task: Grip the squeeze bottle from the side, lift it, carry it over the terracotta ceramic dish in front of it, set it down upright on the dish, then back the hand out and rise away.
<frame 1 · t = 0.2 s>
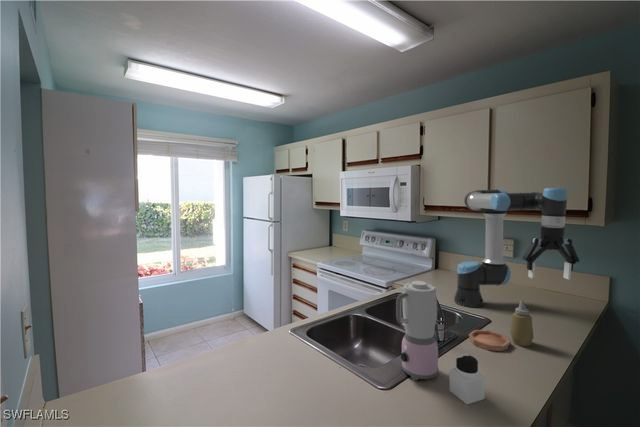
hand: (548, 278, 122), 28 cm above the counter, tool pointing down, fingers open, 13 cm apart
blender: (416, 373, 105), on the counter
medicine bottle: (466, 395, 93), on the counter
dish: (488, 342, 126), on the counter
squeeze bottle: (521, 343, 124), on the counter
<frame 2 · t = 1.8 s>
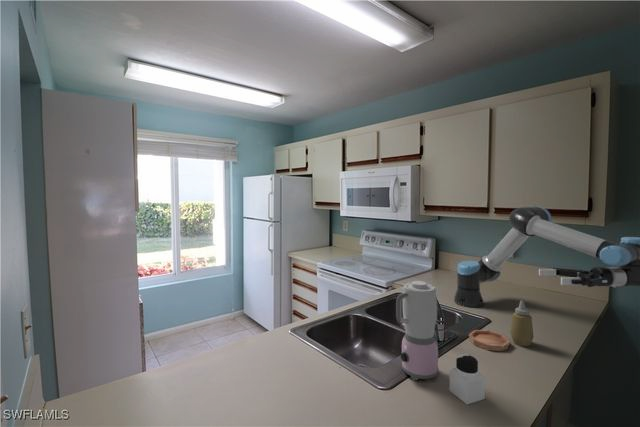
hand: (549, 276, 122), 28 cm above the counter, tool horizontal, fingers open, 13 cm apart
nothing on the counter moved.
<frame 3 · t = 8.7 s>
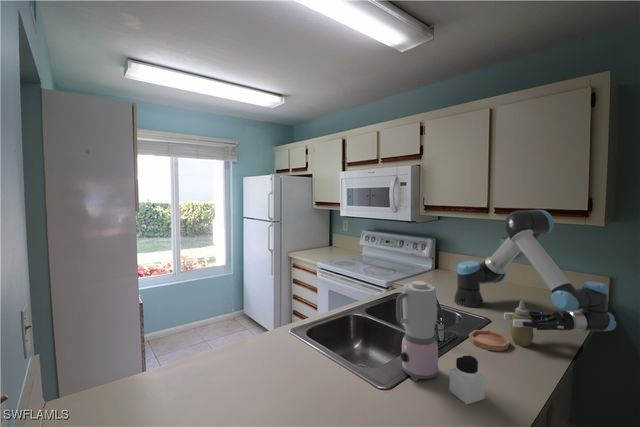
hand: (509, 319, 124), 10 cm above the counter, tool horizontal, fingers closed on squeeze bottle, 6 cm apart
squeeze bottle: (521, 343, 124), on the counter, touching gripper
everything else where it was.
when the fingers open (12 cm above the counter, at t = 14.2 s): squeeze bottle drops 1 cm, resting on dish.
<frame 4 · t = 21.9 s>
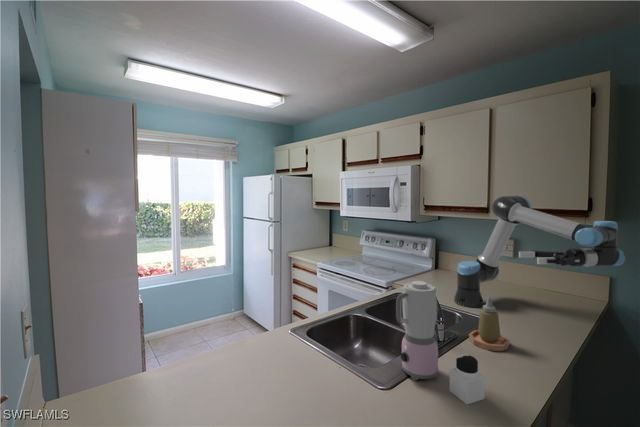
hand: (528, 257, 132), 34 cm above the counter, tool horizontal, fingers open, 13 cm apart
squeeze bottle: (488, 340, 126), point 1 cm above the counter, touching dish
everything else where it was.
at the end: squeeze bottle inside the target area on the dish (0.0 cm from its centre), point 0.8 cm above the dish's base; squeeze bottle tilted 0°; the gripper is holding nothing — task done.
